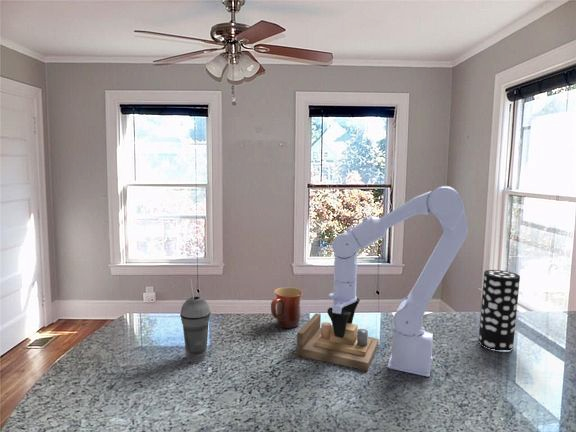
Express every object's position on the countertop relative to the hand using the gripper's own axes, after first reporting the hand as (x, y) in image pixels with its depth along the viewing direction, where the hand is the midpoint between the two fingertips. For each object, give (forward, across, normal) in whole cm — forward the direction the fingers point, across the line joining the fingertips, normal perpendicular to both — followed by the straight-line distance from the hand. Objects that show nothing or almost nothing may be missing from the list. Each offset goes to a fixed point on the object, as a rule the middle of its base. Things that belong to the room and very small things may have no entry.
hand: (343, 330), depth 98 cm
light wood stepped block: (+6, 0, -1) cm, 6 cm away
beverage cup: (+6, +19, -32) cm, 38 cm away
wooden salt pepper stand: (+4, 0, 0) cm, 4 cm away
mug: (+6, -8, -20) cm, 22 cm away
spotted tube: (+6, -21, +37) cm, 43 cm away
